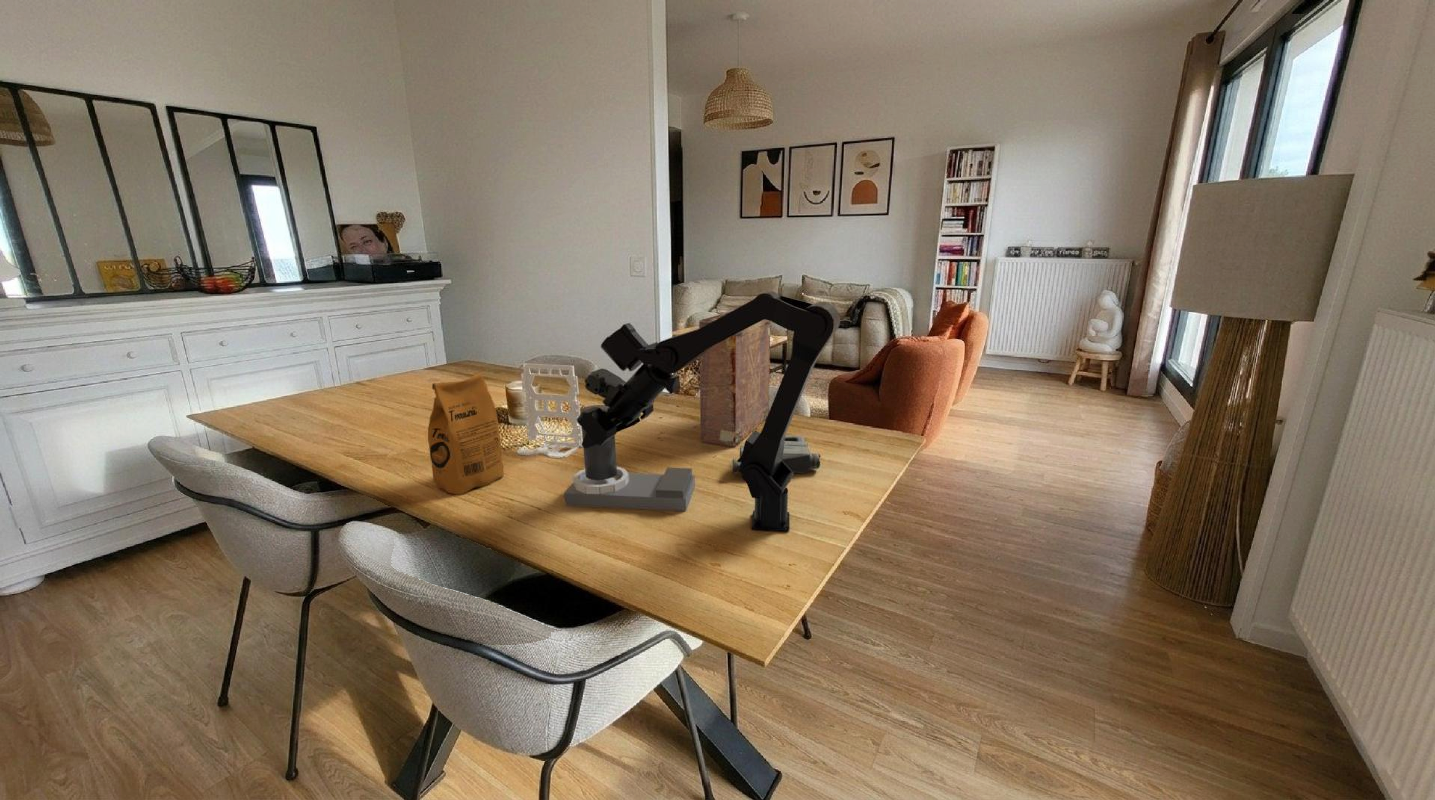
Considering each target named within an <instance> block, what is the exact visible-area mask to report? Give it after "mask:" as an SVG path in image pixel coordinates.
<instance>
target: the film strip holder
mask: <svg viewBox="0 0 1435 800" xmlns="http://www.w3.org/2000/svg"><path fill="white" fill-rule="evenodd" d="M531 369H535V370H536V369H537V373H531ZM522 370H523V372H521V373H520V377H521V378H520V379H521V387H522V388H521V390H522V392H523V393H525V397H523V406H524V416H526V417H527V419H528V420H527V421H526V422H525V426H526V427H525V428H526V435H527V438H526V439H527V440H531V441H532V440H538V439H537V437H538V438H539V436H537V435H543V436H544V439H543V440H539V441H545V442H544V443H545V444H543V446H539V447H537V448H535V449H528V448H527V449H524V447H525V445H523V446H522V447H521V448H520V449H517V450H515V454H517V455H518V456H534V455H535V456H537V455H539V454H541V455H544V456H545V457H548V458H550V459H563V458H568V457H569V456H570V455H572V454H573V453H574V452H576V451H577V450H579V449H580V448H582V449H583V446H582V442H583V439H582V427H581V426H580V425H579V423H578V422H577V418H578V417H579V416H580V410H581V407H580V401H579V400H577V396H579V394H580V393H579V380H578V376H577V375H576V374H575V366H574V365H565V364H564V365H563V364H562V365H561V364H545V363H542V364H541V363H523V364H522ZM541 370H547V373H541ZM553 370H557V371H558V374H553V373H552V371H553ZM562 371H568V374H563V373H562ZM535 377H545V378H546V377H547V378H565V380H566V382H567V384H568V385H569V389H568V392H567V394H554V393H553V394H552V393H551V394H550V393H540V392H539V393H537V392H536V390H535V388H534V386H533V385H532V384H533V382H534V380H535ZM536 401H542V404H543V407H542V409H538V408H537V405H536ZM549 401H550V402H555V405H556V408H555V409H556V410H551V409H550V406H549ZM563 402H565V403H568V405H569V410H568V411H564V410H563V407H562V403H563ZM540 417H543V418H556V419H568V420H569V422H570V424H571V426H572V427H573V428H572V429H571V432H570V433H569V434H559V433H551V432H550V433H549V432H546V428H545V427H544V425H543V422H542V420H541V418H540ZM537 422H538V425H539V427H540V429H541V432H540V429H539V428H538V426H537V425H536V424H537ZM546 436H548V437H553V440H549V439H547V437H546ZM558 437H560V438H564V441H560V440H558ZM568 438H569V439H570V438H571V439H572V438H573V442H572V441H567V439H568ZM564 449H569V450H567V451H565V452H561V451H562V450H564Z"/></svg>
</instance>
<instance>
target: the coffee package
mask: <svg viewBox="0 0 1435 800" xmlns="http://www.w3.org/2000/svg"><path fill="white" fill-rule="evenodd" d="M431 385H432V387H431V389H432V390H433V391H434V394H435V397H434V399H433V406H432V411H431V412H430V413H431V414H430V416H429V421H428V426H427V441H428V447H429V455H430V456H429V458H430V461H431V471H432V480H433V481H434V483H435V485H436V487H437V488H438V489H443V490H444V491H445V490H446V492H447V493H448V494H451V495H457V496H461V495H463V494H465V493H467V492H469V491H471V490H472V489H474V488H482V486H483V487H487V486H489V485H491V484H493V483H494V482H496V481H497V480H499V479H501V478H503V477H504V475H505V473H504V472H505V471H504V462H503V454H502V444H501V443H502V441H501V433H500V429H499V420H498V415H497V410H496V407H495V406H496V405H495V403H494V400H493V398H492V395H491V393H490V392H489V389H488V385H487V383H486V381H485V378H484V375H483V374H482V373H481V372H480V373H477V374H474V375H472V376H470V377H467V378H466V379H464V380H461V381H449V382H448V381H447V382H433V383H432V384H431ZM495 480H496V481H495ZM492 482H493V483H492ZM490 483H491V484H490Z"/></svg>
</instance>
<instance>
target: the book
mask: <svg viewBox="0 0 1435 800" xmlns="http://www.w3.org/2000/svg"><path fill="white" fill-rule="evenodd" d="M733 310H734V309H733ZM733 310H729V311H726V312H722V313H719V314H716V315H713V316H710V317H705V318H702V319H699V320H698V326H699V327H698V329H699V328H701V327H703V326H705V325H707V324H709V323H711V322H713V321H714V320H716V319H718V318H720V317H722V316H724V315H726V314H727V313H729V312H731V311H733ZM770 363H771V321H769V320H766V319H764V320H762V321H760V322H758V323H756V324H755V325H753V326H751V327H749V328H747V329H745V330H743V331H741V332H739V333H737V334H735V335H733V336H731V337H729V338H727V339H725V340H724V341H722V342H720V343H718V344H716V345H714V346H713V347H711V348H710V349H709V350H708V351H707V352H706V353H704V354H703V355H702V356H701V357H700V358H699V394H700V395H699V398H700V399H699V401H700V402H699V403H700V404H699V405H700V406H699V410H700V411H699V412H700V415H699V416H700V442H701V443H707V444H713V445H719V446H720V445H721V446H725V447H733V448H736V447H738V445H740V444H741V443H742V442H743V441H744V440H745V439H747V436H748V435H749V434H750V433H751V432H752V433H753V432H754V430H755V429H756V428H757V427H758V426H759V425H760V424H761V425H763V424H764V423H765V422H764V421H766V419H767V416H768V414H769V411H770V376H771V375H770V369H771V368H770V367H771V366H770V365H771V364H770ZM763 422H764V423H763ZM762 423H763V424H762ZM761 425H760V426H761ZM760 426H759V427H760ZM759 427H758V428H759ZM758 428H757V429H758ZM757 429H756V430H757ZM752 433H751V434H752ZM751 434H750V435H751ZM750 435H749V436H750ZM749 436H748V437H749ZM744 438H745V439H744ZM741 441H742V442H741ZM740 442H741V443H740Z"/></svg>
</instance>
